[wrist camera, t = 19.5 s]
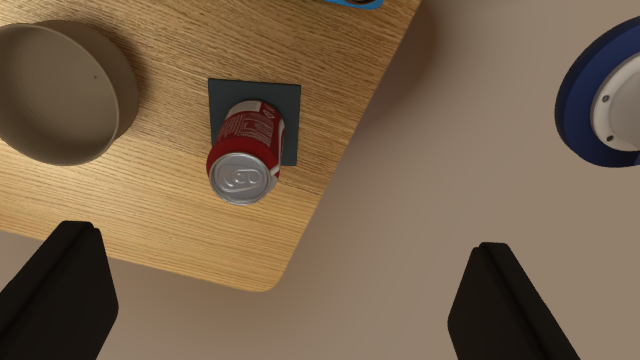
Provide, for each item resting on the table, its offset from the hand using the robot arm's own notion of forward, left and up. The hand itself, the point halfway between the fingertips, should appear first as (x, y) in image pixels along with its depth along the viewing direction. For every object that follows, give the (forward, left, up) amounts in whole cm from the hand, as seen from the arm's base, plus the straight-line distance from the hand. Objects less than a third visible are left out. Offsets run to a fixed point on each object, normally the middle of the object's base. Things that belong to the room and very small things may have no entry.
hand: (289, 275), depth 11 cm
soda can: (+5, +12, -36) cm, 38 cm away
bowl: (+22, +7, -36) cm, 43 cm away
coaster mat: (+5, +12, -36) cm, 39 cm away
